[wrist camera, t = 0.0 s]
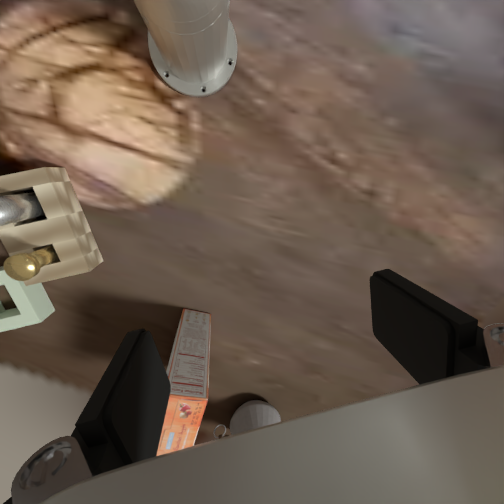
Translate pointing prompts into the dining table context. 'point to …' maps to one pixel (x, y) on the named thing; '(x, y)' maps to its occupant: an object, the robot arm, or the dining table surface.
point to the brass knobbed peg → (29, 263)
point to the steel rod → (19, 208)
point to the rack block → (23, 304)
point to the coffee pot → (252, 417)
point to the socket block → (51, 224)
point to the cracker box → (187, 382)
